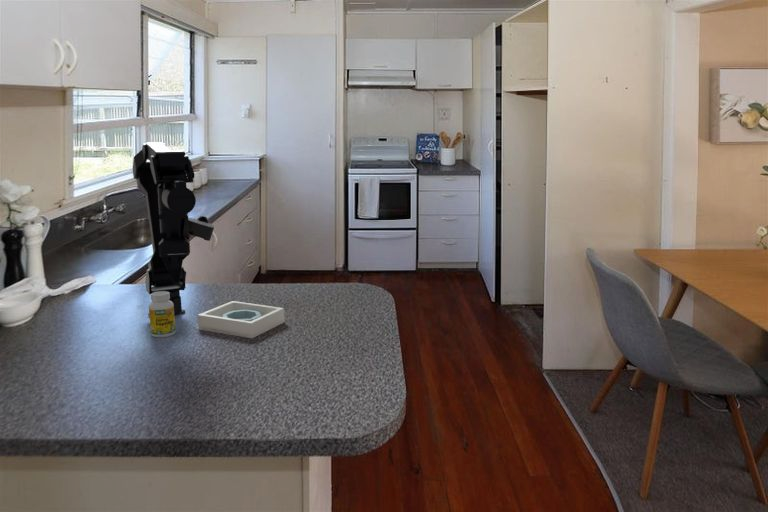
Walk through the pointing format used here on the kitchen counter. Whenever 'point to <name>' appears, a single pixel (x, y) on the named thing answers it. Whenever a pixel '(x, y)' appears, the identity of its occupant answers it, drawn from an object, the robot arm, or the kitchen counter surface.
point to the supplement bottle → (161, 315)
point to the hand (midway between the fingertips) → (177, 277)
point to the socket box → (241, 319)
